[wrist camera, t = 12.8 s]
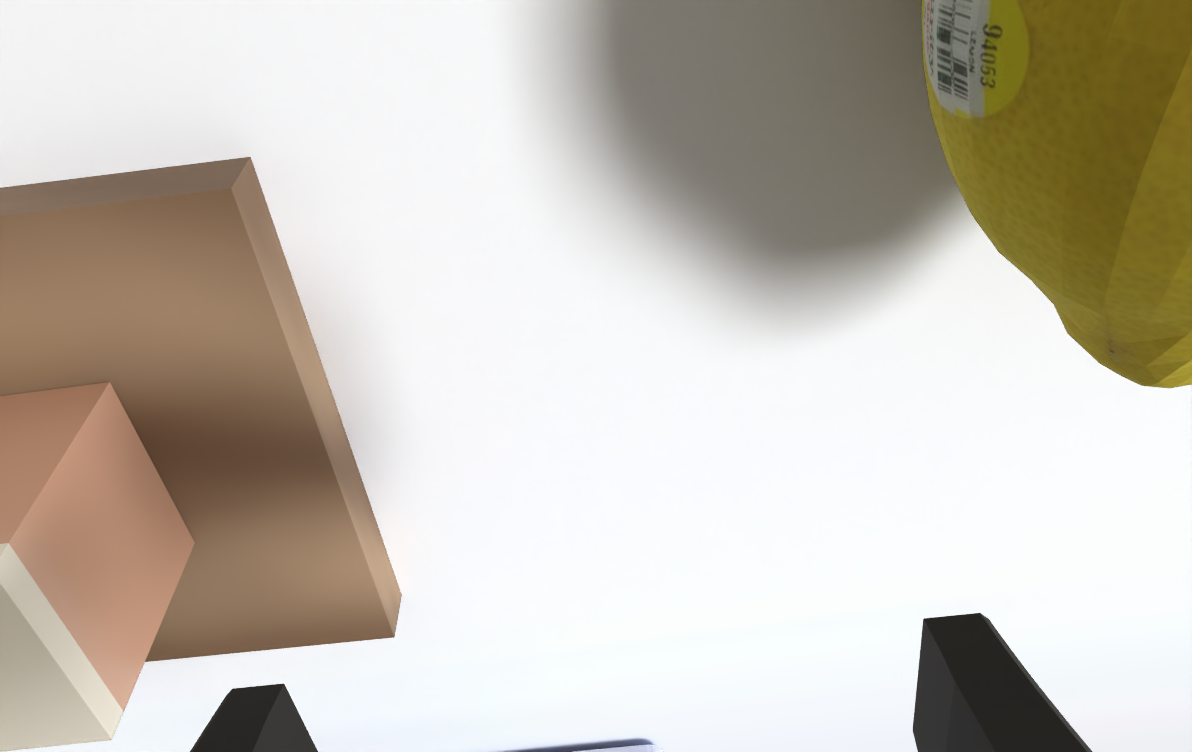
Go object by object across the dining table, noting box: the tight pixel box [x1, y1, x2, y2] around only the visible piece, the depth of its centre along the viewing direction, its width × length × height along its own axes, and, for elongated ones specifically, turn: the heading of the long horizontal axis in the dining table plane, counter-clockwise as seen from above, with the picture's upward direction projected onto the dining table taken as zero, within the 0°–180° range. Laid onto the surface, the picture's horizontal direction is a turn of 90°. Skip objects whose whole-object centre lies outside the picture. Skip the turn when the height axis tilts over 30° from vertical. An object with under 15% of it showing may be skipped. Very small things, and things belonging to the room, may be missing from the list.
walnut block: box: [0, 157, 402, 662], centre depth 22 cm, size 12×12×2 cm
